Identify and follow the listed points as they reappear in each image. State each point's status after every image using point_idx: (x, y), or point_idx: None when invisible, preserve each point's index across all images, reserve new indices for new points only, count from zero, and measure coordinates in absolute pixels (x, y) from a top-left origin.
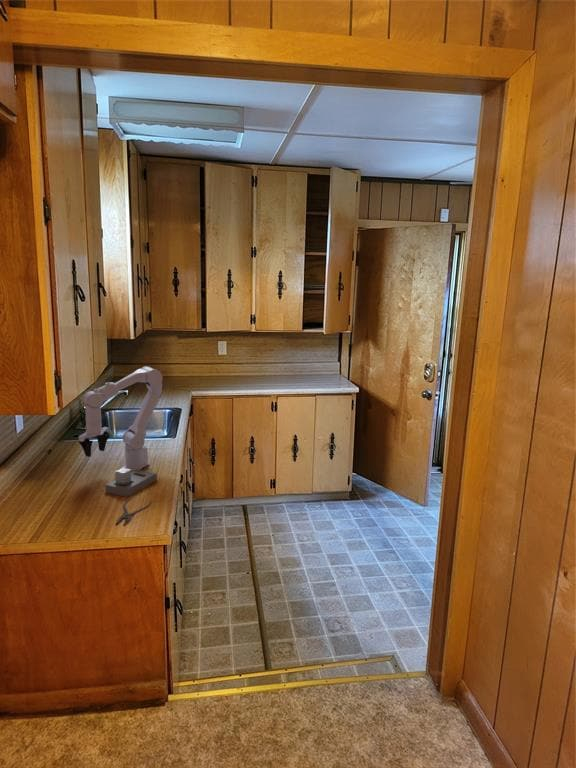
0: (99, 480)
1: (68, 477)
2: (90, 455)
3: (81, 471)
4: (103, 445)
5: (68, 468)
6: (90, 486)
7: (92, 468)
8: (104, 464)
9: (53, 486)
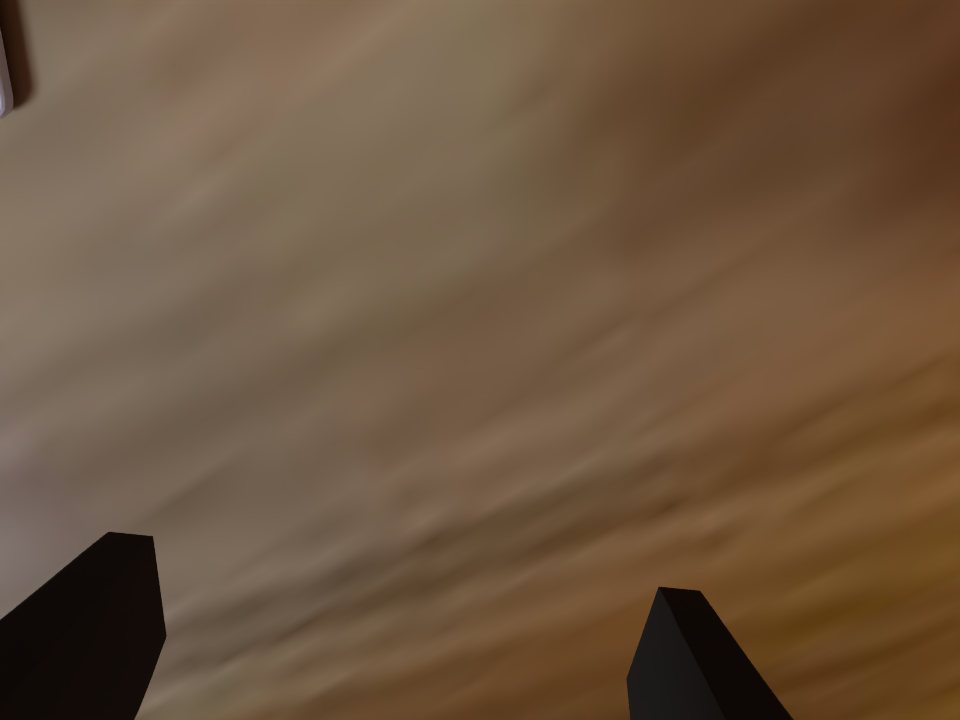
0: (613, 147)
1: (624, 565)
2: (684, 607)
3: (404, 548)
4: (37, 693)
5: (389, 691)
6: (884, 131)
7: (257, 496)
8: (54, 446)
9: (918, 553)
